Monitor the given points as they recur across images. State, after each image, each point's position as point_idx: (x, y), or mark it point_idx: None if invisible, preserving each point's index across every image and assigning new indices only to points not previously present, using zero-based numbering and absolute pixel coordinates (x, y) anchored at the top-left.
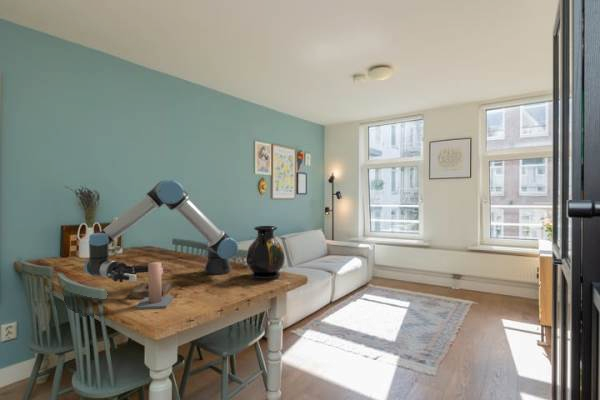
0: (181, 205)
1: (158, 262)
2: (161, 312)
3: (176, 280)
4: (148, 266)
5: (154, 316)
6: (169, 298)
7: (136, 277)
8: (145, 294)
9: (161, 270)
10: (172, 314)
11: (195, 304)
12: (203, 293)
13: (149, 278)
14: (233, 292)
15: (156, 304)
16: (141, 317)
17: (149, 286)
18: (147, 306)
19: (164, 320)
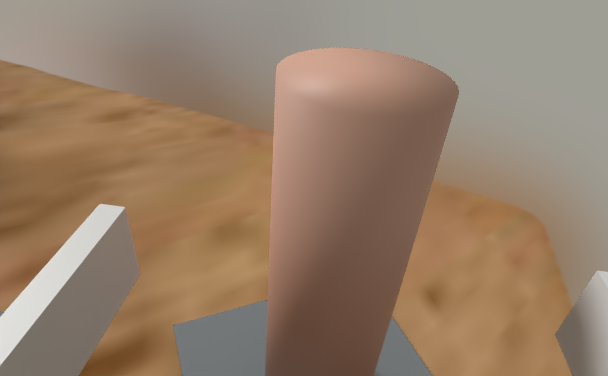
0: None
1: (296, 67)
2: (420, 274)
3: None
4: (444, 133)
5: (477, 274)
6: (229, 326)
7: (583, 297)
8: None
9: (131, 235)
10: None
11: (265, 199)
12: (69, 228)
13: (411, 249)
14: (75, 140)
15: None
16: (532, 324)
17: (392, 313)
18: (427, 369)
19: (479, 220)
